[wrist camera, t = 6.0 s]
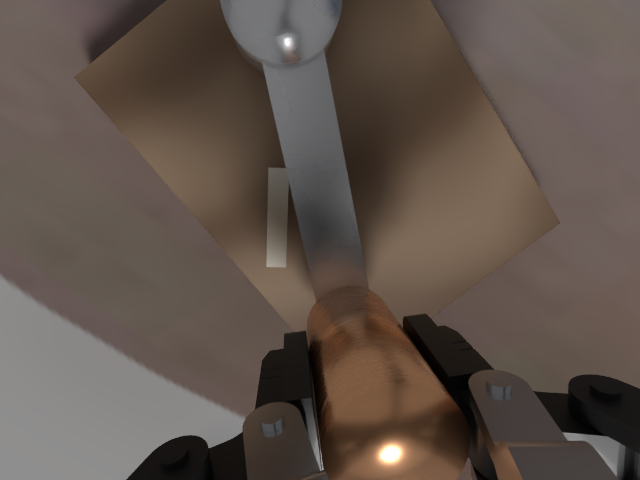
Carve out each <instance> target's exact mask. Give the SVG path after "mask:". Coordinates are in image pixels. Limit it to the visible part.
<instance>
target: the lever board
mask: <svg viewBox="0 0 640 480" xmlns="http://www.w3.org/2000/svg"><path fill="white" fill-rule="evenodd" d="M325 57H326V63H327V68H328V73H329V79H330V84H331V89H332V94H333V100H334V105H335V110H336V116H337V121H338V126H339V131H340V137H341V142H342V147H343V153H344V158H345V163H346V169H347V174H348V179H349V184H350V190H351V195H352V200H353V206H354V211H355V216H356V221H357V227H358V232H359V237H360V243H361V248H362V253H363V258H364V264H365V269H366V274H367V280H368V285H369V290H371V291H373V292H375V293H376V294H378V295H379V296H380V297H381V298H382V299H383V301H384V302H385V303H386V305H387V306H388V308H389V309H390V310H391V312H392V313H393V315H394V316H395V317H396V319H397V320H398V322H399V323H400V324H401V326H402V327H403V317H404V316H411V315H418V314H425V313H426V314H427V315H428V316H429V317H430V318H431V317H432V316H434V315H435V314H437V313H438V312H439V311H441V310H442V309H443V308H445V307H446V306H447V305H449V304H450V303H452V302H453V301H454V300H456V299H457V298H458V297H460V296H461V295H462V294H464V293H465V292H467V291H468V290H469V289H471V288H472V287H473V286H475V285H476V284H478V283H479V282H480V281H482V280H483V279H484V278H486V277H487V276H488V275H490V274H491V273H493V272H494V271H495V270H497V269H498V268H499V267H501V266H502V265H503V264H505V263H506V262H508V261H509V260H510V259H512V258H513V257H514V256H516V255H517V254H519V253H520V252H521V251H523V250H524V249H525V248H527V247H528V246H529V245H531V244H532V243H534V242H535V241H536V240H538V239H539V238H540V237H542V236H543V235H544V234H546V233H547V232H549V231H550V230H551V229H553V228H554V227H555V226H557V225H558V224H559V223H560V222H559V220H558V218H557V216H556V215H555V213H554V211H553V210H552V208H551V206H550V204H549V203H548V201H547V199H546V198H545V196H544V194H543V192H542V191H541V189H540V187H539V186H538V184H537V182H536V180H535V179H534V177H533V175H532V174H531V172H530V170H529V168H528V167H527V165H526V163H525V162H524V160H523V158H522V156H521V155H520V153H519V151H518V150H517V148H516V146H515V144H514V143H513V141H512V139H511V137H510V136H509V134H508V132H507V131H506V129H505V127H504V125H503V124H502V122H501V120H500V119H499V117H498V115H497V113H496V112H495V110H494V108H493V107H492V105H491V103H490V101H489V100H488V98H487V96H486V95H485V93H484V91H483V89H482V88H481V86H480V84H479V83H478V81H477V79H476V77H475V76H474V74H473V72H472V71H471V69H470V67H469V65H468V64H467V62H466V60H465V59H464V57H463V55H462V53H461V52H460V50H459V48H458V47H457V45H456V43H455V41H454V40H453V38H452V36H451V35H450V33H449V31H448V29H447V28H446V26H445V24H444V22H443V21H442V19H441V17H440V16H439V14H438V12H437V10H436V9H435V7H434V5H433V4H432V2H431V0H342V8H341V14H340V18H339V21H338V24H337V27H336V29H335V32H334V35H333V37H332V40H331V43H330V45H329V48H328V50H327V52H326V54H325ZM74 78H75V79H76V80H77V81H78V83H79V84H80V85H81V86H82V87H83V88H84V89H85V91H86V92H87V93H88V94H89V95H90V96H91V98H92V99H93V100H94V101H95V102H96V103H97V104H98V106H99V107H100V108H101V109H102V110H103V111H104V113H105V114H106V115H107V116H108V117H109V118H110V119H111V121H112V122H113V123H114V124H115V125H116V126H117V128H118V129H119V130H120V131H121V132H122V133H123V134H124V136H125V137H126V138H127V139H128V140H129V141H130V143H131V144H132V145H133V146H134V147H135V148H136V149H137V151H138V152H139V153H140V154H141V155H142V156H143V158H144V159H145V160H146V161H147V162H148V163H149V164H150V166H151V167H152V168H153V169H154V170H155V171H156V173H157V174H158V175H159V176H160V177H161V178H162V179H163V181H164V182H165V183H166V184H167V185H168V186H169V188H170V189H171V190H172V191H173V192H174V193H175V194H176V196H177V197H178V198H179V199H180V200H181V201H182V203H183V204H184V205H185V206H186V207H187V208H188V209H189V211H190V212H191V213H192V214H193V215H194V216H195V218H196V219H197V220H198V221H199V222H200V223H201V224H202V226H203V227H204V228H205V229H206V230H207V231H208V233H209V234H210V235H211V236H212V237H213V238H214V239H215V241H216V242H217V243H218V244H219V245H220V246H221V248H222V249H223V250H224V251H225V252H226V253H227V254H228V256H229V257H230V258H231V259H232V260H233V261H234V263H235V264H236V265H237V266H238V267H239V268H240V270H241V271H242V272H243V273H244V274H245V275H246V276H247V278H248V279H249V280H250V281H251V282H252V283H253V285H254V286H255V287H256V288H257V289H258V290H259V291H260V293H261V294H262V295H263V296H264V297H265V298H266V300H267V301H268V302H269V303H270V304H271V305H272V306H273V308H274V309H275V310H276V311H277V312H278V313H279V315H280V316H281V317H282V318H283V319H284V320H285V321H286V323H287V324H288V325H289V326H290V327H291V328H292V330H293V331H294V332H298V331H305V330H306V333H307V319H308V315H309V313H310V311H311V309H312V307H313V305H314V304H315V303H316V299H315V294H314V290H313V285H312V281H311V277H310V272H309V268H308V263H307V259H306V254H305V250H304V246H303V241H302V237H301V232H300V228H299V224H298V219H297V215H296V210H295V206H294V202H293V197H292V193H291V188H290V184H289V179H288V175H287V171H286V166H285V162H284V157H283V153H282V149H281V144H280V140H279V135H278V131H277V127H276V122H275V118H274V113H273V109H272V105H271V100H270V96H269V91H268V87H267V82H266V78H265V74H263V73H261V72H259V71H258V70H256V69H255V68H254V67H252V66H251V65H250V64H249V63H248V62H247V61H246V60H245V59H244V57H243V56H242V55H241V53H240V51H239V50H238V48H237V46H236V43H235V41H234V39H233V36H232V34H231V32H230V29H229V27H228V25H227V22H226V20H225V18H224V15H223V11H222V8H221V3H220V0H166V1H165V2H164V3H162V4H161V5H160V6H159V7H158V8H156V9H155V10H154V11H153V12H152V13H150V14H149V15H148V16H147V17H146V18H144V19H143V20H142V21H141V22H140V23H138V24H137V25H136V26H135V27H134V28H132V29H131V30H130V31H129V32H128V33H126V34H125V35H124V36H123V37H122V38H120V39H119V40H118V41H117V42H116V43H114V44H113V45H112V46H111V47H110V48H108V49H107V50H106V51H105V52H104V53H102V54H101V55H100V56H99V57H98V58H96V59H95V60H94V61H93V62H92V63H90V64H89V65H88V66H87V67H86V68H84V69H83V70H82V71H81V72H80V73H78V74H77V75H76V76H75V77H74ZM307 340H308V338H307Z"/></svg>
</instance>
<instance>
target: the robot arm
mask: <svg viewBox="0 0 640 480" xmlns="http://www.w3.org/2000/svg"><path fill="white" fill-rule="evenodd" d="M403 329H404V330H405V332H406V333H407V334H408V336H409V337H410V339H411V340H412V341H413V343H414V344H415V346H416V347H417V349H418V350H419V351H420V353H421V354H422V356H423V357H424V358H425V360H426V361H427V363H428V364H429V366H430V367H431V368H432V370H433V371H434V373H435V374H436V375H437V377H438V378H439V380H440V381H441V383H442V384H443V385H444V387H445V388H446V390H447V391H448V392H449V394H450V395H451V397H452V398H453V400H454V401H455V402H456V404H457V405H458V407H459V408H460V409H461V411H462V413H463V414H464V416H465V418H466V421H467V423H468V427H469V432H470V450H469V454H468V457H469V459H470V460H471V477H472V480H640V389H639V388H636V387H634V386H632V385H629V384H627V383H624V382H622V381H619V380H617V379H613V378H610V377H606V376H600V375H580V376H576V377H574V378H572V379H571V380H570V382H569V385H568V394H563V393H547V392H536V391H533V390H532V388H531V387H530V386H529V384H528V383H527V382H526V381H524V380H523V379H522V378H520V377H518V376H516V375H514V374H512V373H509V372H505V371H500V370H494V369H493V368H492V367H491V366H490V365H489V364H488V363H487V362H486V361H485V359H484V358H483V357H482V356H481V355H480V354H479V353H478V352H477V351H476V350H475V349H473V347H472V346H471V345H470V344H469V343H468V342H466V340H465V339H464V338H463V337H462V336H461V335H460V334H459V333H458V332H457V331H455V330H453V329H451V328H449V327H447V326H437V325H436V324H435V323H434V322H433V321H432V319H431V318H430V317H429V316H428V315H427V314H426V313H425V314H418V315H411V316H404V317H403ZM127 480H329V478H328V476H327V473H326V472H325V470H322V466H321V455H320V445H319V435H318V424H317V414H316V404H315V396H314V387H313V379H312V371H311V363H310V355H309V347H308V340H307V333H306V330H305V331H298V332H291V333H285V334H284V349H279V350H272V351H269V353H268V354H267V355H266V356H265V358H264V359H263V360H262V366H261V373H260V381H259V386H258V393H257V400H256V406H255V410H254V411H253V412H251V413H250V414H249V415H248V417H247V418H246V419H245V421H244V424H243V432H242V433H240V434H239V435H238V436H236V437H234V438H233V439H231V440H229V441H226V442H224V443H221V444H219V445H217V446H214V447H212V448H208V445H207V443H206V441H205V440H204V439H203V438H201V437H198V436H192V435H190V436H182V437H178V438H175V439H172V440H170V441H168V442H166V443H164V444H162V445H161V446H159V447H158V448H157V449H155V450H154V451H153V452H152V453H151V454H150V455H149V456H148V457H147V458H146V459H145V460H144V461H143V463H142V464H141V465H140V466H139V467H138V468H137V469H136V470H135V471H134V472H133V473H132V474H131V475H130V476H129V478H128V479H127Z"/></svg>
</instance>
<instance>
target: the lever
mask: <svg viewBox="0 0 640 480" xmlns="http://www.w3.org/2000/svg"><path fill="white" fill-rule="evenodd" d="M220 3H221V8H222V11H223V15H224V18H225V20H226V22H227V25H228V27H229V29H230V32H231V34H232V36H233V39H234V41H235V43H236V46H237V48H238V50H239V51H240V53H241V55H242V56H243V57H244V59H245V60H246V61H247V62H248V63H249V64H250V65H251V66H252V67H254V68H255V69H256V70H258V71H259V72H261V73H263V74H265V78H266V82H267V87H268V91H269V96H270V100H271V105H272V109H273V113H274V118H275V122H276V127H277V131H278V135H279V140H280V144H281V149H282V153H283V157H284V162H285V166H286V171H287V175H288V179H289V184H290V188H291V193H292V197H293V202H294V206H295V210H296V215H297V219H298V224H299V228H300V232H301V237H302V241H303V246H304V250H305V254H306V259H307V263H308V268H309V272H310V277H311V281H312V285H313V290H314V294H315V299H316V303H315V304H314V305H313V307H312V309H311V311H310V313H309V315H308V319H307V338H308V347H309V355H310V363H311V371H312V379H313V387H314V396H315V404H316V412H317V420H318V428H319V437H320V445H321V453H322V461H323V467H324V470H325V472H326V473H327V476H328V478H329V480H456V479H457V478H458V476H459V475H460V473H461V471H462V470H463V468H464V466H465V463H466V461H467V458H468V454H469V450H470V432H469V427H468V423H467V421H466V418H465V416H464V414H463V413H462V411H461V409H460V408H459V407H458V405H457V404H456V402H455V401H454V400H453V398H452V397H451V395H450V394H449V392H448V391H447V390H446V388H445V387H444V385H443V384H442V383H441V381H440V380H439V378H438V377H437V375H436V374H435V373H434V371H433V370H432V368H431V367H430V366H429V364H428V363H427V361H426V360H425V358H424V357H423V356H422V354H421V353H420V351H419V350H418V349H417V347H416V346H415V344H414V343H413V341H412V340H411V339H410V337H409V336H408V334H407V333H406V332H405V330H404V329H403V327H402V326H401V324H400V323H399V322H398V320H397V319H396V317H395V316H394V315H393V313H392V312H391V310H390V309H389V308H388V306H387V305H386V303H385V302H384V301H383V299H382V298H381V297H380V296H379V295H378V294H376V293H375V292H373V291H371V290H369V285H368V280H367V274H366V269H365V264H364V258H363V253H362V248H361V243H360V237H359V232H358V227H357V221H356V216H355V211H354V206H353V200H352V195H351V190H350V184H349V179H348V174H347V169H346V163H345V158H344V153H343V147H342V142H341V137H340V131H339V126H338V121H337V116H336V110H335V105H334V100H333V94H332V89H331V84H330V79H329V73H328V68H327V63H326V57H325V54H326V52H327V50H328V48H329V45H330V43H331V40H332V37H333V35H334V32H335V29H336V27H337V24H338V21H339V18H340V14H341V8H342V0H220Z"/></svg>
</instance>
